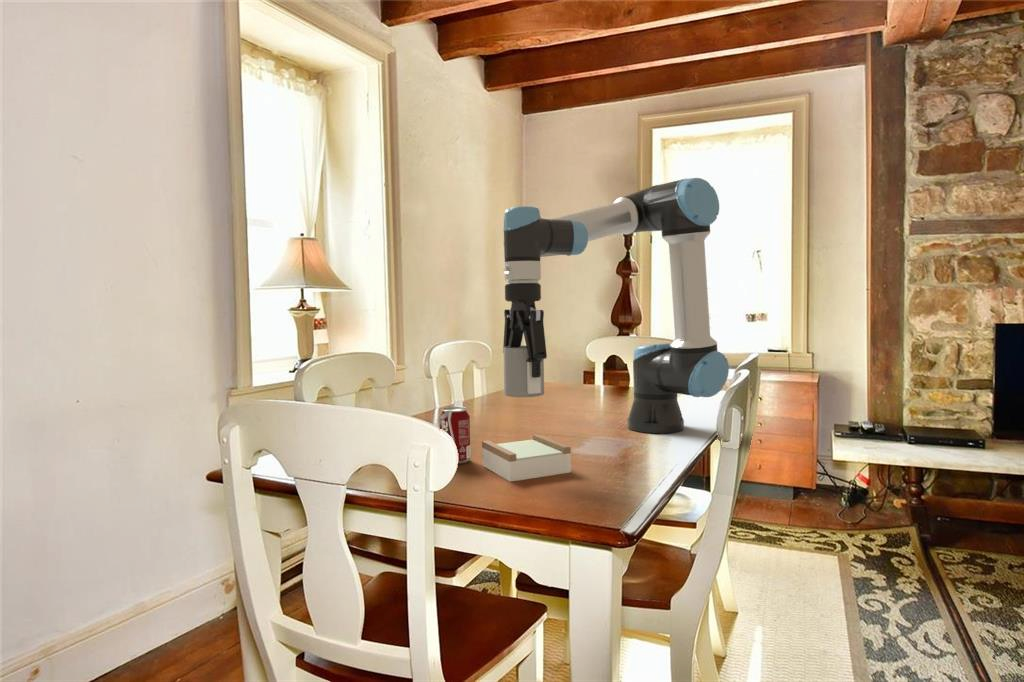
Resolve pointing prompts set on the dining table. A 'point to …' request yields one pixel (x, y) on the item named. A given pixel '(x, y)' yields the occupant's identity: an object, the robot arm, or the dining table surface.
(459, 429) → the soda can
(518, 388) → the cup
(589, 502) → the dining table surface
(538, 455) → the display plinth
